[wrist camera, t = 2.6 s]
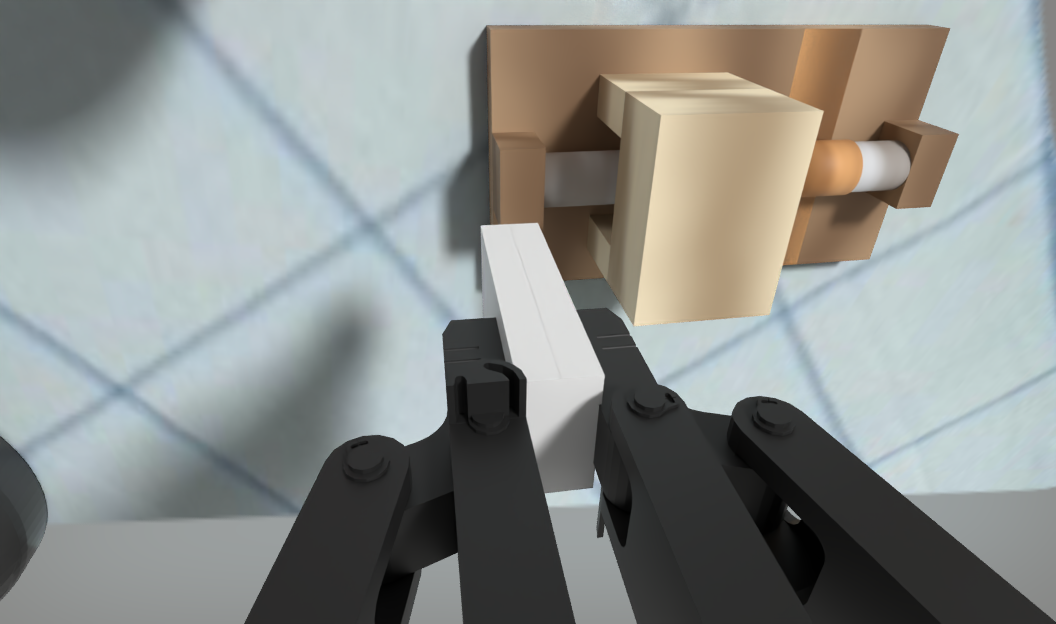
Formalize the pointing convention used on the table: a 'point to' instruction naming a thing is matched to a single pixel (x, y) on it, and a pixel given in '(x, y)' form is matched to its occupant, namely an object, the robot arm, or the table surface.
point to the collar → (700, 193)
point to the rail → (742, 50)
